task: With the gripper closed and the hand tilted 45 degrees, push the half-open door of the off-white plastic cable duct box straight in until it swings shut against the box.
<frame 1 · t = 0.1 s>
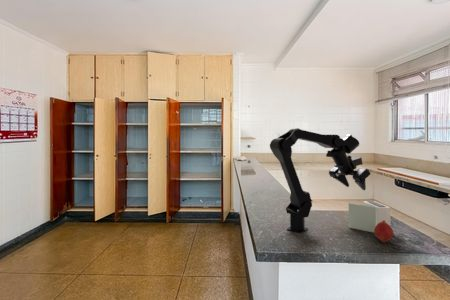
hand: (356, 188, 119), 15 cm above the counter, tool tilted 35°, fingers open, 9 cm apart
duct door: (361, 217, 107), point 5 cm above the counter, hinge at 45.0°
duct box: (377, 233, 104), on the counter
onion: (383, 242, 95), on the counter
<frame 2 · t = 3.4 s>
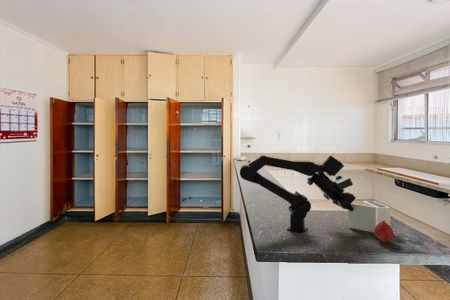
hand: (352, 210, 109), 8 cm above the counter, tool tilted 45°, fingers closed
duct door: (361, 217, 107), point 5 cm above the counter, hinge at 44.9°, touching gripper
everything else where it was.
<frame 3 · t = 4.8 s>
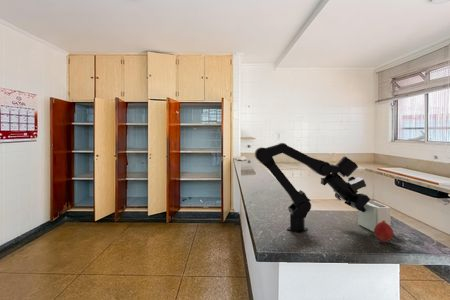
hand: (364, 211, 110), 7 cm above the counter, tool tilted 45°, fingers closed, pressing on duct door
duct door: (366, 215, 109), point 5 cm above the counter, hinge at 6.3°, touching gripper
everything else where it was.
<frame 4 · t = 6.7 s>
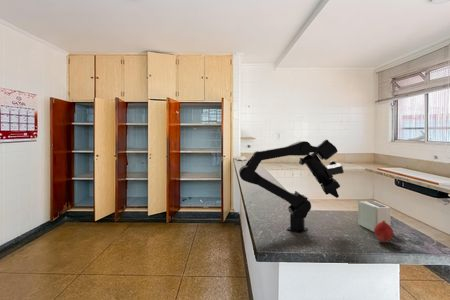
hand: (337, 196, 110), 13 cm above the counter, tool tilted 35°, fingers closed
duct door: (366, 215, 109), point 5 cm above the counter, hinge at 6.0°
everything else where it was.
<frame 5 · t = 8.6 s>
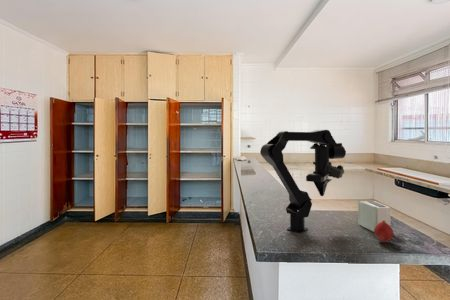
hand: (322, 195, 113), 13 cm above the counter, tool pointing down, fingers closed
nothing on the counter moved.
at the end: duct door at +6° (first picture: +45°) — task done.
